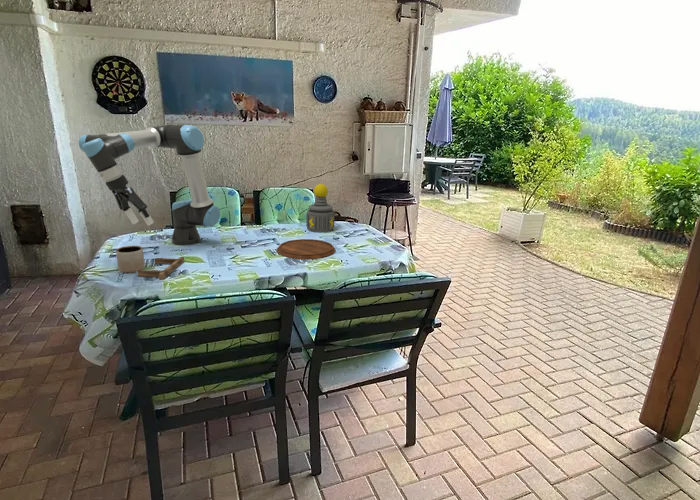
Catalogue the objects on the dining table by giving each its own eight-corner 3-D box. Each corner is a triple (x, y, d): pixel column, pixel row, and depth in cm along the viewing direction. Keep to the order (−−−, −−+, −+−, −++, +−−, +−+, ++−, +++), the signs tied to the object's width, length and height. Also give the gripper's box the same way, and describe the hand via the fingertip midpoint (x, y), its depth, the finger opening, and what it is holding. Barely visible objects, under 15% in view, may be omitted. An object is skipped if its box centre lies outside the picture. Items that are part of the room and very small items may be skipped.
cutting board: (303, 239, 240) (303, 235, 239) (346, 250, 223) (347, 245, 222) (264, 251, 215) (264, 247, 214) (309, 264, 198) (309, 259, 197)
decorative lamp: (323, 234, 252) (324, 187, 244) (300, 229, 262) (300, 183, 253) (340, 229, 268) (341, 184, 259) (317, 224, 277) (318, 181, 268)
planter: (127, 275, 174) (124, 254, 172) (113, 269, 180) (110, 249, 177) (150, 268, 183) (148, 248, 180) (136, 263, 189) (134, 244, 186)
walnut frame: (159, 261, 193) (158, 256, 192) (184, 261, 193) (183, 256, 193) (134, 278, 170) (133, 273, 169) (162, 279, 170) (162, 274, 170)
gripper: (93, 183, 164) (122, 227, 175) (119, 181, 149) (149, 229, 159) (109, 175, 169) (137, 218, 179) (136, 172, 154) (165, 219, 164)
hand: (143, 223), depth 169 cm, fingers open, 13 cm apart
